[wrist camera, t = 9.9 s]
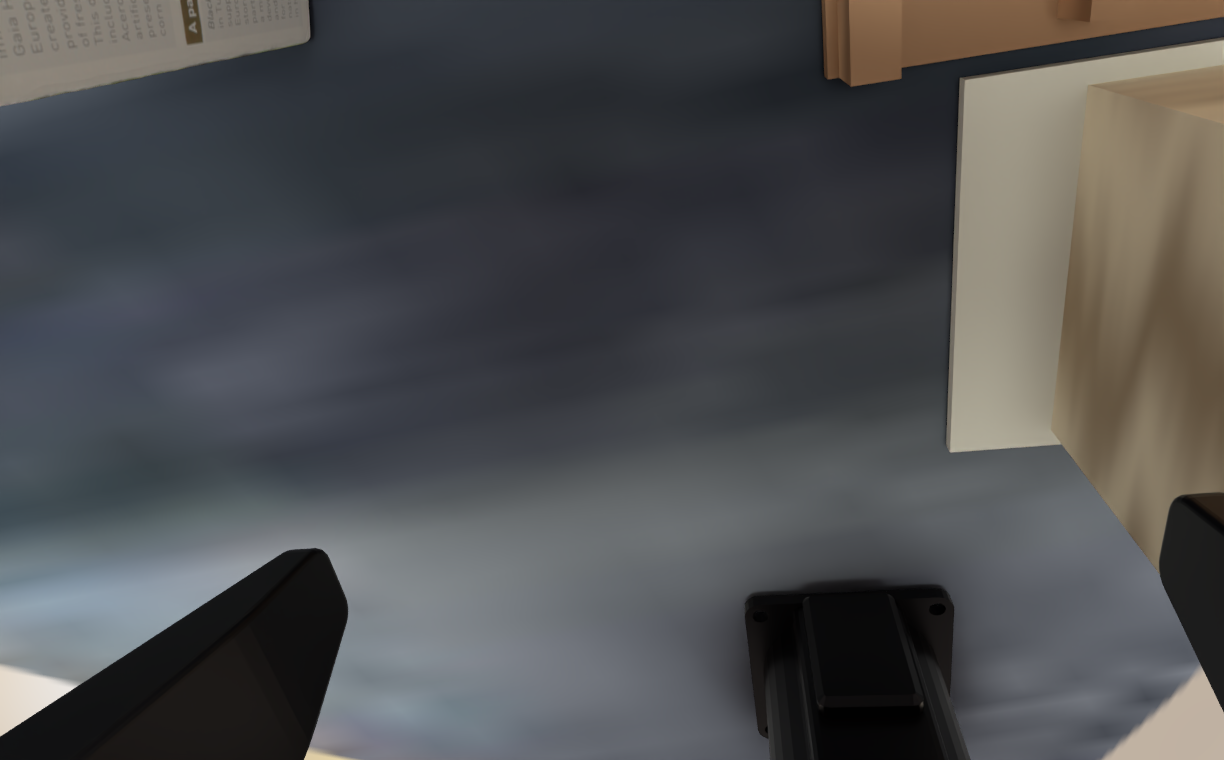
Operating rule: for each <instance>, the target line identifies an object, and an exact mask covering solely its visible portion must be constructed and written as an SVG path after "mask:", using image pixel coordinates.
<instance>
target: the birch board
mask: <svg viewBox="0 0 1224 760" xmlns="http://www.w3.org/2000/svg"><path fill="white" fill-rule="evenodd" d="M1051 431H1052V432H1053V433H1054V435H1055V436H1056V437H1057V439H1058V440H1059V441H1060V443H1061V444H1062V445H1063V446H1064V448H1065V449H1066V450H1067V452H1068V453H1069V454H1070V456H1071V457H1072V458H1073V460H1074V461H1075V462H1076V464H1077V465H1078V466H1079V468H1080V469H1081V470H1082V472H1083V473H1084V474H1085V476H1086V477H1087V478H1088V480H1089V481H1090V482H1091V484H1092V485H1093V486H1094V488H1095V489H1096V490H1097V492H1098V493H1099V494H1100V496H1101V497H1102V498H1103V500H1104V501H1105V502H1106V504H1107V505H1108V506H1109V508H1110V509H1111V510H1112V511H1113V513H1114V514H1115V515H1116V517H1117V518H1118V519H1119V521H1120V522H1121V523H1122V525H1123V526H1124V527H1125V529H1126V530H1127V531H1128V533H1129V534H1130V535H1131V537H1132V538H1133V539H1134V541H1135V542H1136V543H1137V545H1138V546H1139V547H1140V549H1141V550H1142V551H1143V553H1144V554H1145V555H1146V557H1147V558H1148V559H1149V561H1150V562H1151V563H1152V565H1153V566H1154V567H1155V569H1156V570H1157V571H1158V573H1159V574H1160V572H1159V557H1160V552H1161V547H1162V541H1163V536H1164V531H1165V526H1166V521H1167V516H1168V511H1169V508H1170V505H1171V503H1172V501H1173V500H1174V499H1175V498H1176V497H1178V496H1180V495H1183V494H1196V493H1212V492H1223V493H1224V65H1218V66H1212V67H1205V68H1198V69H1191V70H1185V71H1178V72H1171V73H1165V74H1158V75H1151V76H1145V77H1138V78H1131V79H1124V80H1118V81H1111V82H1104V83H1098V84H1091V85H1088V91H1087V100H1086V110H1085V119H1084V128H1083V138H1082V147H1081V156H1080V165H1079V175H1078V184H1077V193H1076V203H1075V212H1074V221H1073V230H1072V240H1071V249H1070V258H1069V268H1068V277H1067V286H1066V295H1065V305H1064V314H1063V323H1062V332H1061V342H1060V351H1059V360H1058V370H1057V379H1056V388H1055V397H1054V407H1053V416H1052V425H1051Z"/></svg>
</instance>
